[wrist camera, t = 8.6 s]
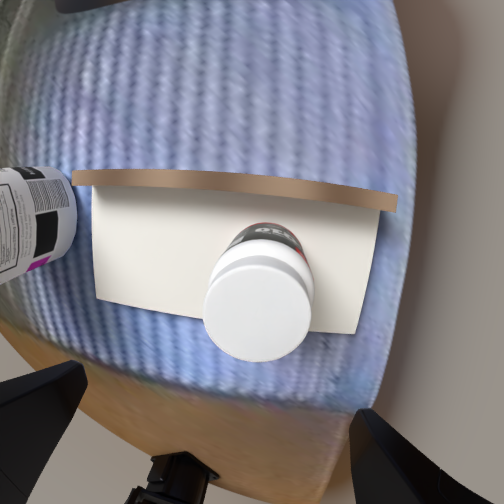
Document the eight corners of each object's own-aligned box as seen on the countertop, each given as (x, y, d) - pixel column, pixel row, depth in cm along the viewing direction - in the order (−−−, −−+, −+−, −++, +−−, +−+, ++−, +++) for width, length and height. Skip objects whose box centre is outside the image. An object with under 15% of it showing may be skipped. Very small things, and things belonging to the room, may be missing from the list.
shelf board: (376, 192, 18) (398, 194, 14) (351, 326, 20) (363, 352, 16) (101, 170, 19) (72, 170, 15) (104, 293, 21) (79, 310, 18)
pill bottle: (318, 251, 18) (350, 307, 10) (272, 305, 19) (269, 388, 11) (258, 205, 17) (243, 225, 9) (214, 264, 18) (171, 324, 10)
